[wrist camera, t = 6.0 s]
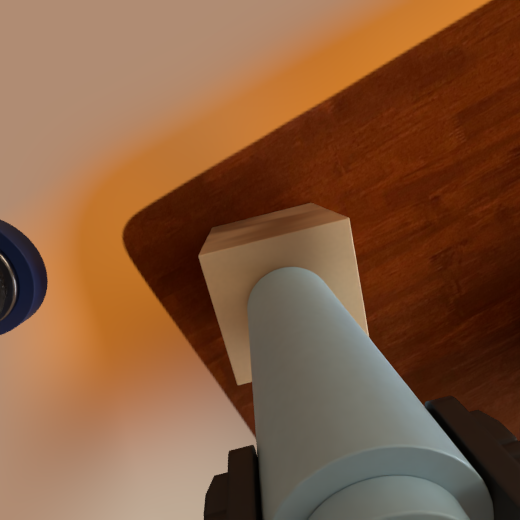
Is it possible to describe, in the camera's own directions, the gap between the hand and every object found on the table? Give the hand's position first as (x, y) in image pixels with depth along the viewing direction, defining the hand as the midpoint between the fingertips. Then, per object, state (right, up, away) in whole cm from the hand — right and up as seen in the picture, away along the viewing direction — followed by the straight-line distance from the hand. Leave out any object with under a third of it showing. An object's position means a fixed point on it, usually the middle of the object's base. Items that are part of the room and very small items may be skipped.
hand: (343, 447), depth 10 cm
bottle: (-1, +3, +10) cm, 10 cm away
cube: (-1, +5, +20) cm, 21 cm away
